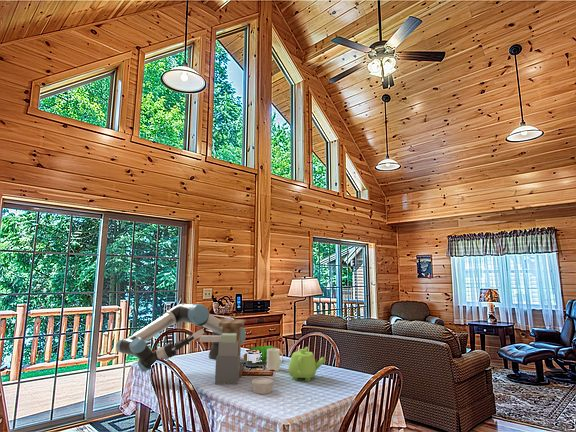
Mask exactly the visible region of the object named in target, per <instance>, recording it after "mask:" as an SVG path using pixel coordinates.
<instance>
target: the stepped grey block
mask: <svg viewBox="0 0 576 432" xmlns="http://www.w3.org/2000/svg"><path fill="white" fill-rule="evenodd" d="M238 342H239V340H237V341H236V343H221V342H219V349H218V355H217V356H216V359H215V373H214V374H215V375H214V385H238V383H239V380H240V377H239V365H240V366H241V352H240V353H238Z"/></svg>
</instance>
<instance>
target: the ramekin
mask: <svg viewBox="0 0 576 432" xmlns="http://www.w3.org/2000/svg"><path fill="white" fill-rule="evenodd" d="M251 384H252V391H253V392H254V393H255V394H258V395H268V394H270V393H271V392H273V386H274V379H271V378H266V377H261V378H260V377H258V378H254V379H252V381H251Z"/></svg>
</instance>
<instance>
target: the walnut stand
mask: <svg viewBox="0 0 576 432" xmlns="http://www.w3.org/2000/svg"><path fill="white" fill-rule="evenodd" d="M221 320H222V321H221V322H220V323H219V327H223V329H222V333H237V340H239V342H238V353H240V354H241V349H242V347H241V345H242V344H241V327H242V328H244V325H245V323H246V319H244V318H243V319H241V318H240V319H239V318H238V319H236V318H235V319H234V318H233V319H232V318H231V319H230V318H229V319H227V318H224V319H221ZM242 371H244V365H241V364H240V365H239V378H242V375H243V372H242Z"/></svg>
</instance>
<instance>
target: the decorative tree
mask: <svg viewBox="0 0 576 432" xmlns="http://www.w3.org/2000/svg"><path fill="white" fill-rule="evenodd" d="M270 348H276V349H278V347H275V346H273V345H264V346H263V345H260V346H258V345H256V346H255V347H254V346H251V347H250V349H249V350H259V351H261V352H262V354H261V356H262V357H261V360H262V362H261V363H266V362H267V349H270ZM247 353H248V352H247ZM247 353H244V354H243V360H244V361H245V362H248V361H247Z"/></svg>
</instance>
